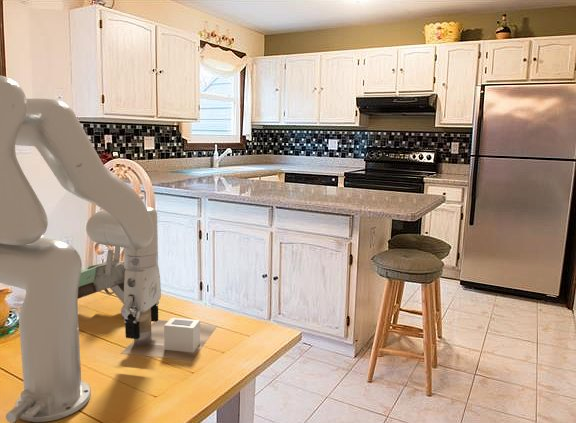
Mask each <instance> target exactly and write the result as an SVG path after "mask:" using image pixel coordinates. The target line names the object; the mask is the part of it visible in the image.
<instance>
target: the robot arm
mask: <svg viewBox="0 0 576 423" xmlns="http://www.w3.org/2000/svg"><path fill="white" fill-rule="evenodd" d="M16 146H25V147H26V146H27V147H35V148H36V150H37V151H38V153H39V154H40V156H41V157H42V158H43V160H44V161H45V163H46V164H47V166H48V167H49V169H50V170H51V172H52V173H53V175H54V177H56V179H57V181H58V183H59V184H60V185H61V187H62V188H63V189H64V190H66V191H68V192H69V193H71V194H72V195H74V196H76V197H77V198H79V199H82V200H84V201H86V202H89V203H91V204H93V205H95V206H97V207H99V208H100V209H102V210H100V211H97V212H95V213H94V214H92V215H91V216H90V217H89V218H88V220H87V223H86V226H85V231H86V234H87V237H88V238H89V239H90V240H91V241H93V242H94V243H97V244H99V245H103V246H110V247H115V246H117V247H120V248H122V249H123V262H124V268H125V269H126V270H125V279H124V304H123V305H122V307H121V309H120V313H121V315H122V317H121V318H122V320H123V323H124V327H125V329H124V330H125V338H126V339H132V340H134V339H139V338H140V322H138V318H139V315H140V312H146V311H147V310H148V309H150V308H151V322H153V323H154V322H157V321H158V320H159V303H160V300H161V298H162V287H161V273H160V268H159V250H158V249H159V248H158V246H159V244H158V236H159V235H158V233H159V232H158V212H157V210H156V209H155V208H153V207H151V206H147V205H146V204H145V202H144V201H143V199H142V198H141V197H140V195H139V194H138V193H137V191H135V190H134V189H133V188H132V187H131V186H129V185H128V184H127V183H126V182H125V181H124V180H122V179H121V178H120V177H119V175H118V176H117V174H115V173H114V172H113V171H111V170H110V169H109V168H107V167H106V166H105V165H104V163H103V161H102V160H101V158H100V156H99V154H98V152H97V150H96V149H95V148H94V146H93V143H92V142H91V140H90V139H89V137H88V134H87V133H86V131H85V130H84V128H83V126H82V124H81V122H80V120H79V119H78V117H77V115H76V114H75V112H74V111H73V109H72V108H71V107H70V106H69V105H68V104H66V103H65V102H63V101H62V100H59V99H58V100H57V99H53V98H27V97H26V94H25V92H24V90H23V88H22V87H21V86H20V85H19V84H18V82H16V81H15V80H13V79H12V78H9V77H7V76H4V75H0V284H2V285H5V286H10V287H13V288H18V289H21V290H24V291H25V297H24V298H23V302H22V304H21V306H20V309H19V314H18V328H19V340H20V341H19V342H20V352H21V354H20V355H21V364H22V366H21V367H22V381H23V391H21V392H20V396H19V397H18V398H17V400H16V402H15V406H14V407H13V408H12V409H11V410H9V411H8V412H7V413H6V414H5V419H6V421H7V422H8V423H15V422H16V421H17V420H19V419H21V420H23V421H26V422H30V423H31V422H32V423H46V422H51V421H57V420H60V419H63V418H66V417H68V416H70V415H72V414H74V413H76V412H78V411H79V410H81V409H82V408H83V407H85V406H86V405H87V403H88V402H89V400H90V399H91V396H92V392H91V391H92V390H91V386H90V385H89V384H88V383H87V382H85V381H83V380H82V371H81V370H82V366H81V351H80V350H81V349H80V348H81V346H80V327H79V326H80V325H79V306H78V304H79V303H78V301H79V300H78V288H79V282H80V276H81V270H83V268H82V267H83V264H82V258H81V256H80V254H79V252H78V251H77V250H76V248H74V247H73V246H72V245H71V244H69V243H67V242H65V241H61V240H58V239H53V238H48V237H44V235H45V233H46V232H47V229H48V223H49V222H48V221H49V219H48V215H47V213H46V211H45V208H44V206H43V204H42V202H41V200H40V199H39V197H38V195H37V194H36V192H35V190H34V189H33V186H32V185H31V183H30V181H29V179H28V178H27V176H26V175H25V173H24V170H23V168H22V167H21V165H20V162H19V161H18V157H17V153H16ZM133 307H137V309H134V308H133ZM131 312H135V316H133V314H131Z"/></svg>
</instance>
